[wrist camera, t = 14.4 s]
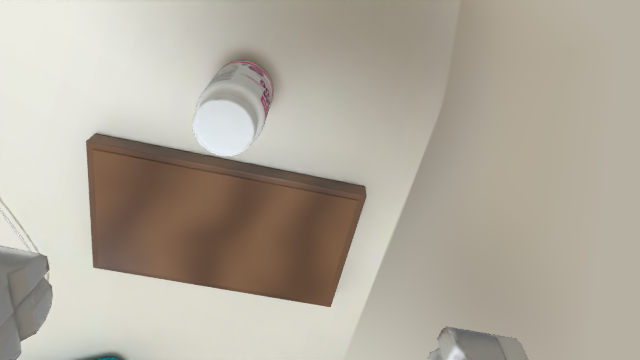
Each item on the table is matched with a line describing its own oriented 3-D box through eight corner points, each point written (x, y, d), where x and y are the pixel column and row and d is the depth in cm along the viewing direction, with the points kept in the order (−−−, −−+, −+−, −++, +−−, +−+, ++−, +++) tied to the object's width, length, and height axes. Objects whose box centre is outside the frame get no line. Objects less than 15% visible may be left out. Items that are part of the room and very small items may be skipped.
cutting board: (365, 186, 39) (366, 196, 38) (330, 296, 46) (330, 308, 45) (94, 133, 37) (85, 141, 36) (100, 257, 44) (92, 268, 42)
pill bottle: (285, 98, 35) (275, 142, 28) (238, 126, 37) (216, 174, 29) (251, 47, 33) (230, 79, 26) (202, 78, 35) (170, 117, 27)
